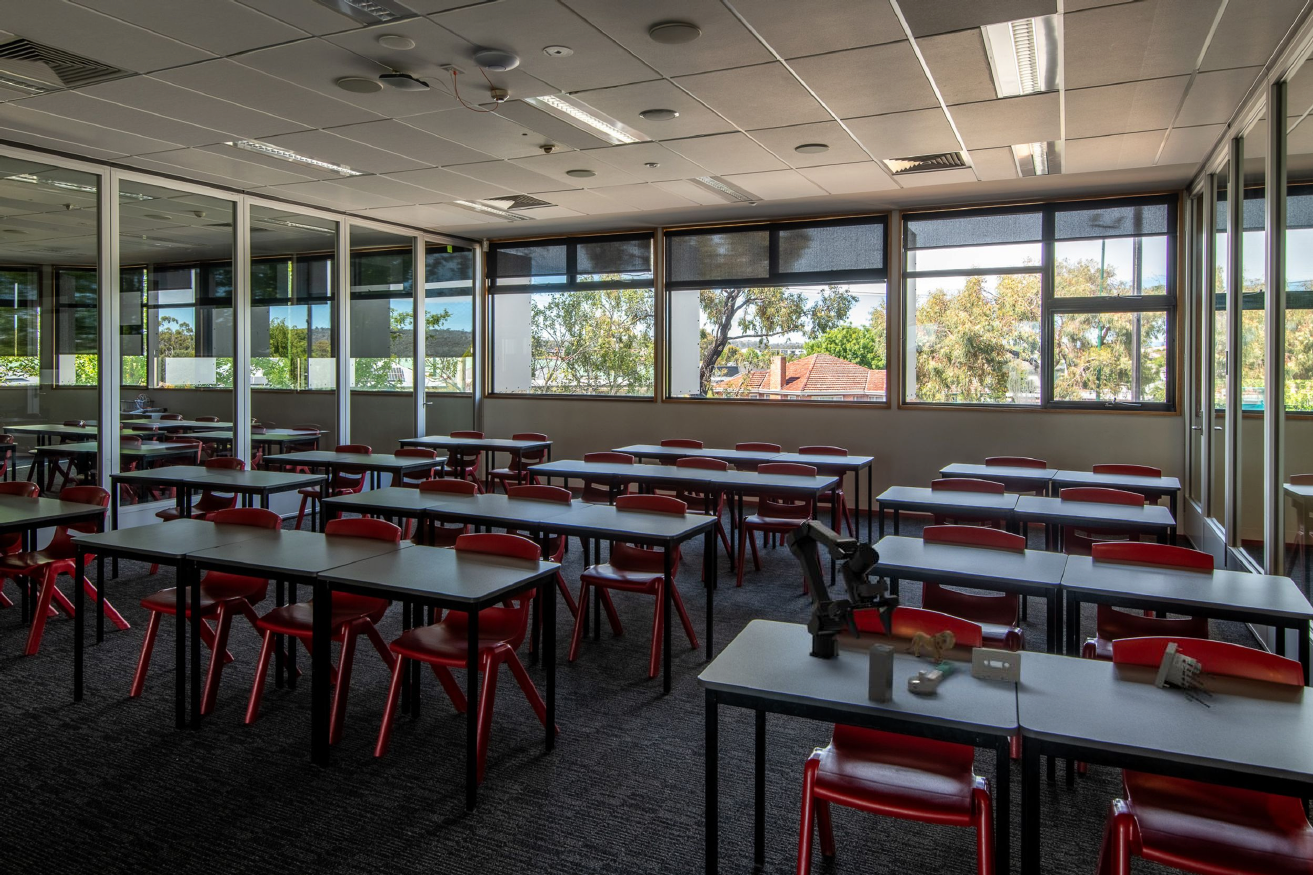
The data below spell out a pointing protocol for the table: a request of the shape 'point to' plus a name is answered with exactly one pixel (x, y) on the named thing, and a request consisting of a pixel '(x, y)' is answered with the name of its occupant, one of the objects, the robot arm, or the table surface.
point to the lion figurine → (933, 643)
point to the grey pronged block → (1179, 671)
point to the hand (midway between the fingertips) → (874, 637)
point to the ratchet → (929, 680)
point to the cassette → (996, 671)
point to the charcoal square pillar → (881, 673)
